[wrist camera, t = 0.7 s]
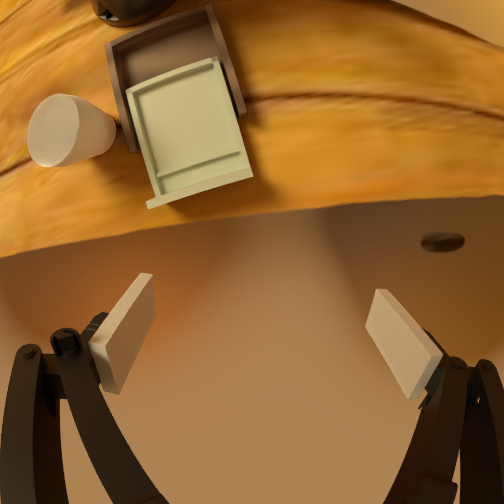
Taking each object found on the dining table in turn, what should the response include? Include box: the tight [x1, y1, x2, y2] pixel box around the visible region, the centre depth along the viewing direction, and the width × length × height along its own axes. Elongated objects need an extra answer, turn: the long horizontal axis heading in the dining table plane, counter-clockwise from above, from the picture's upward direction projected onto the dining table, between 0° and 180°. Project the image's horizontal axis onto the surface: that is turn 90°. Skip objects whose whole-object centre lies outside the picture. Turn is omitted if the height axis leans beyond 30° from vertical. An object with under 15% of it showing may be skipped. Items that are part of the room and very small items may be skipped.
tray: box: [126, 56, 253, 210], centre depth 32 cm, size 17×13×6 cm
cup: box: [27, 94, 116, 167], centre depth 29 cm, size 9×9×12 cm
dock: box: [105, 3, 247, 153], centre depth 31 cm, size 18×16×3 cm
